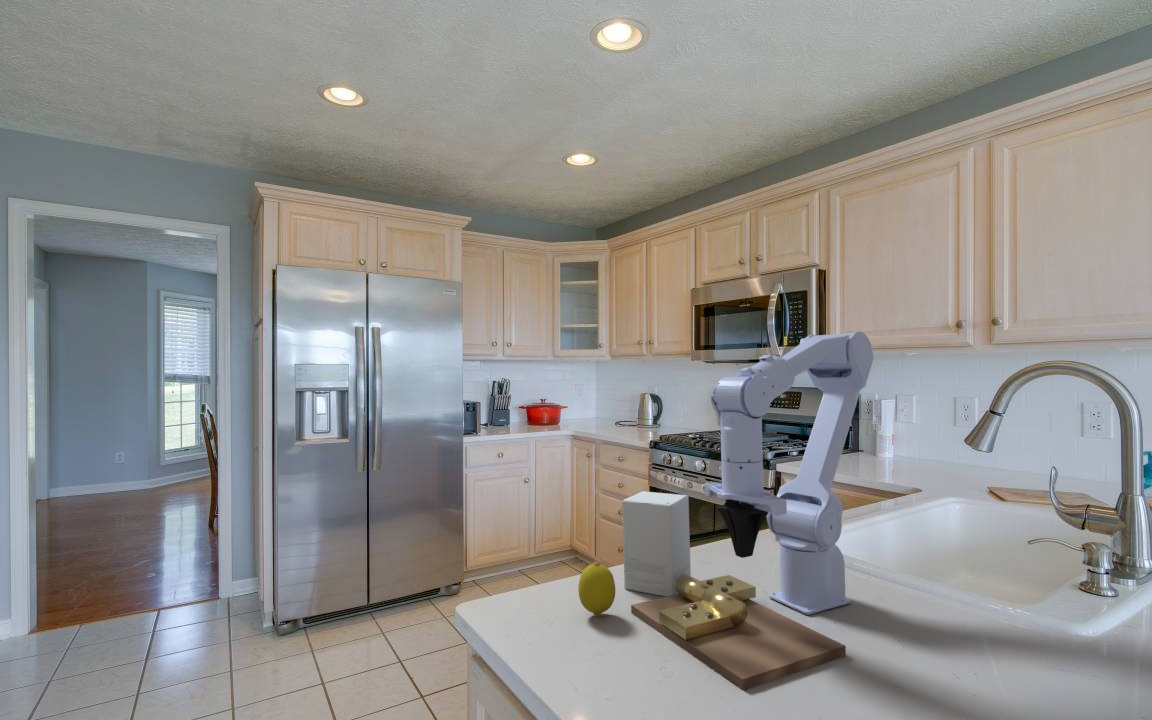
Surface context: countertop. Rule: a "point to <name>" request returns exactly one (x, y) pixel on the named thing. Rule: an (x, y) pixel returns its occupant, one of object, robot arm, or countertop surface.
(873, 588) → the countertop surface
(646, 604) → the walnut board
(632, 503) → the supplement box
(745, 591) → the fixed leaf
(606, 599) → the lemon
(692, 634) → the plate
